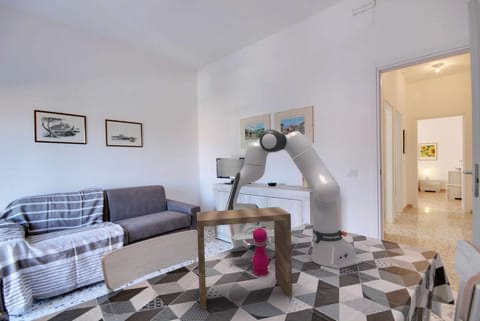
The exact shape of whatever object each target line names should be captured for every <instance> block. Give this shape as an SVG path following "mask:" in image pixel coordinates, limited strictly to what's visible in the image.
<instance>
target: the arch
mask: <svg viewBox="0 0 480 321" xmlns="http://www.w3.org/2000/svg"><path fill="white" fill-rule="evenodd" d="M255 222H260V223H266V222H274V223H273V229H274V230H273V232H274V239H275V243H274V272H275V273H274V275H275V276H274V277H275V278H274V279H275V281H276V283H277V284H278V286H279V287H280V289H281V290H282V293H284V295H285V296H286V297H288V298H289V297H293V271H292V270H293V264H292V262H293V261H292V259H293V258H292V256H293V255H292V254H293V253H292V216H291V213H290V212H288V211H287V210H285V209H283V208H282V207H280V206H272V207H259V208H253V209H239V210H225V209H224V210H215V211H214V210H211V211H198V212H196V225H197V226H196V227H197V228H196V230H197V232H196V233H197V258H198V259H197V263H198V293H199V294H198V295H199V310H204V309H205V310H206V309H207V294H206V293H207V290H206V289H207V287H206V282H207V281H206V258H205V257H206V256H205V253H206V251H205V248H206V247H205V227H216V226H229V225H230V226H231V225H239V224H243V223H255Z"/></svg>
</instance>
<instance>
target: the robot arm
mask: <svg viewBox="0 0 480 321" xmlns="http://www.w3.org/2000/svg"><path fill="white" fill-rule="evenodd" d="M283 150H284V151H286V152H287V153H288V155H289V156H290V158H291V160H292V161H293V163H294V165H295V166H296V168H297V169H298V171H299V172H300V174H301V175H302V177H303V178H304V180H305V182H306V184H307V185H308V186H309V188H310V190H311V191H312V208H313V209H312V210H313V211H312V212H313V228H312V241H313V242H312V243H313V244H312V250H311V255H310V260H311V261H312V262H313V263H315V264H317V265H321V266H323V267H329V268H333V269H336V270H337V269H339V270H340V269H343V268H347V267H350V266H354V265H358V264H362V263H363V260H362V258H361V257H360V256H359V255H357V252H356V249H355V246H353V245H352V243H351V242H349V241H348V240H346V239H345V237H347V236H348V232H346V231H343V230H340V227H339V226H340V225H339V224H340V223H339V222H340V220H339V216H340V214H339V207H338V206H339V205H338V198H339V197H340V194H341V187H340V185H339V183H338V181H336V179H335V177H334V175H332V173H331V171H330V170H329V168H328V167H327V166H326V164H325V163H324V161H323V159H322V158H321V157H320V156H319V154H318V153H317V151H316V150H315V148H314V147H313V145H312V144H311V142H310V141H309V140H308V139H307V137H306V136H305V135H303V133H302V132H300V131H298V130H296V131H295V130H294V131H292V132H290V133H288V134H285V132H282V131H281V130H278V129H271V128H270V129H267V130H265V131H263V132H262V134H261V135H260V137H259V141H253V142H250V143H248V145H247V148H246V150H245V156H244V160H243V166H242V168H241V170H240V171H238V172H237V173H236V174H235V176H234V179H233V182H232V185H231V188H230V193H229V196H228V199H227V202H226V205H225V207H224V210H239V209H253V208H260V206H258V204H256V203H242V202H238V198H239V196H240V191H241V190H242V188H243V187H245V186H246V185H248V184H252V183H254V182H256V181H257V182H258V181H259V180H261V179H262V178H263V176H264V175H265V173H266V172H265V171H266V166H267V159H268V155H269V154H270V153H278V152H281V151H283ZM260 223H261V222H255V223H243V224H237V227H238V232H239V233H235V234H234V235H233V236H231V237H230V238H231V241H233V246H234V247H235V248H236V247H237V248H240V247H245V248H246V249H249V248H251V246H255V244H254V240H255V239H254V238H253V232H254V231H255V230H256V229H258V226H259V225H260ZM262 229H264V230H265V231H266V233H267V238H266V246H269V247H271V246H272V244H275V239H274V230H271V229H270V228H269V227H268V226H262Z"/></svg>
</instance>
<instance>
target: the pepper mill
mask: <svg viewBox="0 0 480 321" xmlns="http://www.w3.org/2000/svg"><path fill="white" fill-rule="evenodd" d="M262 227H263V226H262V225H260V224H259V225H258V229H256V230H255V231H254V232H253V238H254V239H255V240H254V244H255V245H254V246H255V251H254V254H253V257H252V260H251V264H252V266H253V270H252V272H253V274H254V275H256V276H259V277H261V276H262V277H263V276H267V275H268V273H269V268H268V266H269V264H270V259H269V257H268V253H266V246H267V244H266V238H267V233H266V231H265V230H264V229H262Z"/></svg>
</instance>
